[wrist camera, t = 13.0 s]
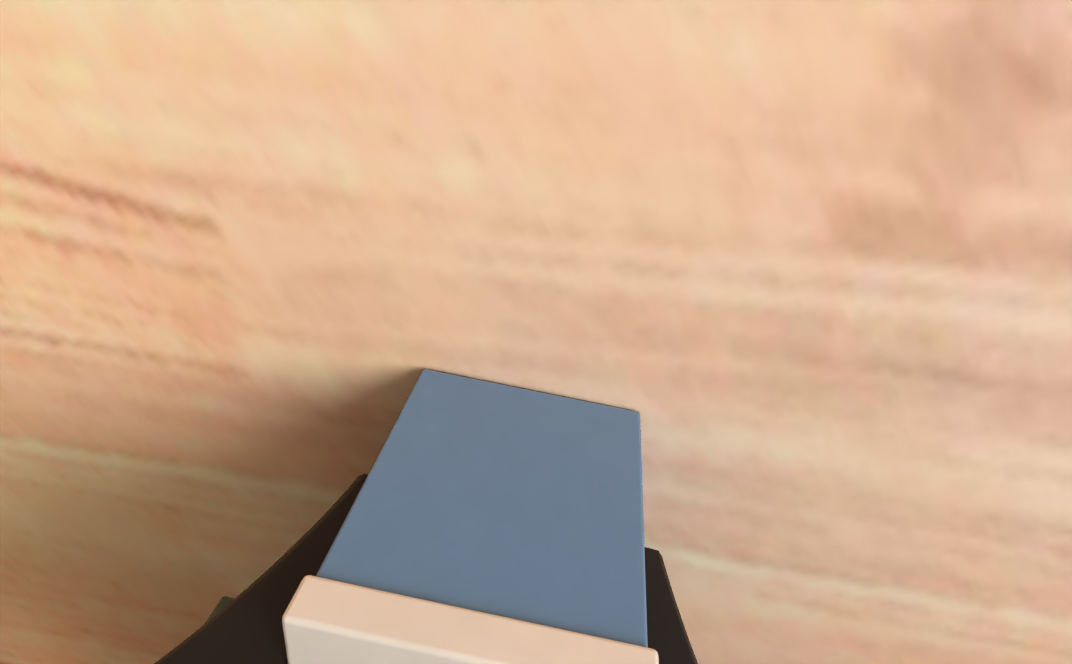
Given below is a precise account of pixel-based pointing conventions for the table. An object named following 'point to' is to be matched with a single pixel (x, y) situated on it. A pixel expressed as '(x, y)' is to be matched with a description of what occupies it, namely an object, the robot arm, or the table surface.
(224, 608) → the robot arm
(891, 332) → the table surface
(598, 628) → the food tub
